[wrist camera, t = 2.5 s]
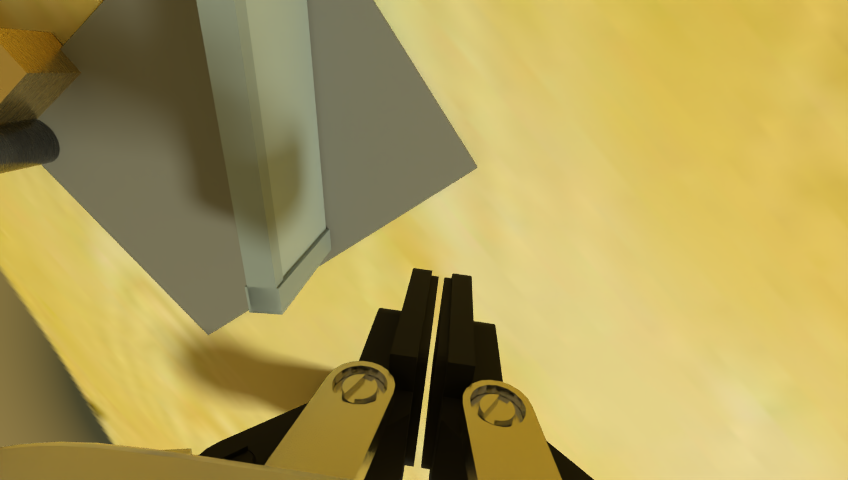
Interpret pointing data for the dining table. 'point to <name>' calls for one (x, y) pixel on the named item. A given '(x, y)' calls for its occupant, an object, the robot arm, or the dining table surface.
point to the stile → (30, 96)
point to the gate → (268, 141)
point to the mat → (202, 149)
